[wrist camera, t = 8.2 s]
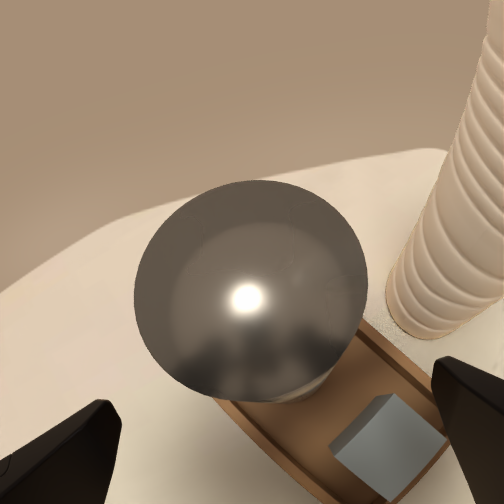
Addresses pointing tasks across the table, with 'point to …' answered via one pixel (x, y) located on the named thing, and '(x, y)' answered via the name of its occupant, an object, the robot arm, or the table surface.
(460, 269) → the water bottle
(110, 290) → the table surface
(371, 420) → the pale grey cube
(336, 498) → the walnut tray
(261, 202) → the metal cylinder
